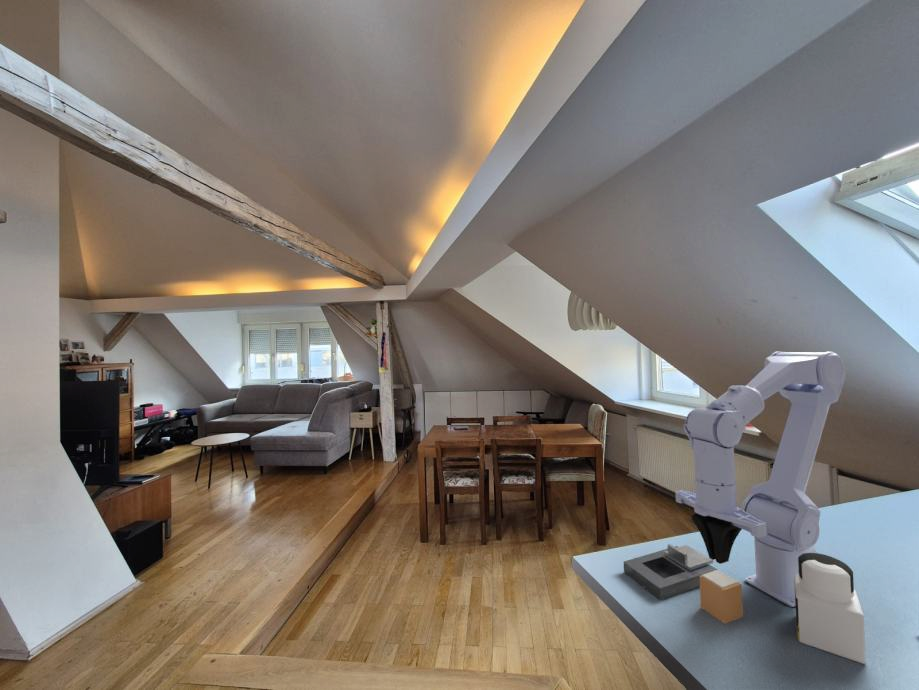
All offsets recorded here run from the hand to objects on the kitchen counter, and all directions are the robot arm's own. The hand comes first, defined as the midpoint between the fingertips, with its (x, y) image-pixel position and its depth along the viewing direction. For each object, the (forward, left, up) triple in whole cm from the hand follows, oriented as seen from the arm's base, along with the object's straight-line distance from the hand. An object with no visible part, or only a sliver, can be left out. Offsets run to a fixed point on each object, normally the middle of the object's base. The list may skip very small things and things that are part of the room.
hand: (718, 559), depth 65 cm
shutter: (-5, -11, -7) cm, 13 cm away
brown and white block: (0, 0, -9) cm, 9 cm away
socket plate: (0, -11, -9) cm, 14 cm away
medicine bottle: (-9, +10, -9) cm, 16 cm away
